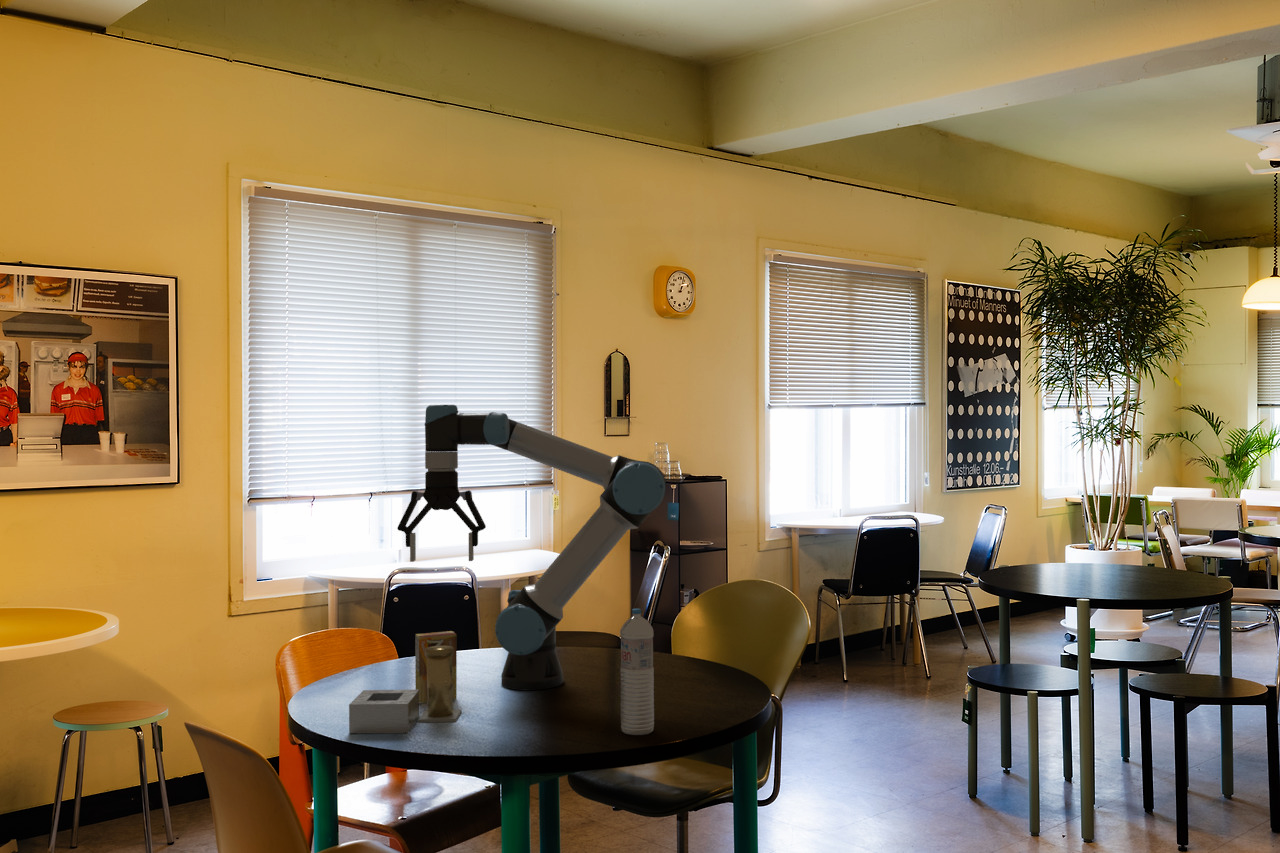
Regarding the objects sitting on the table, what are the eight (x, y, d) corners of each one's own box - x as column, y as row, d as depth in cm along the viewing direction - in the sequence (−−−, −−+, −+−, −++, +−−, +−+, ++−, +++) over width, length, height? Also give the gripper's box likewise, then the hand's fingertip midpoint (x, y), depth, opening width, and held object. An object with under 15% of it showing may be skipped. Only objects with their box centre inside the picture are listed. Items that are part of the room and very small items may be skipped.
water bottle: (619, 727, 213) (619, 606, 213) (652, 726, 213) (651, 606, 214) (622, 736, 206) (621, 612, 206) (655, 735, 207) (654, 611, 207)
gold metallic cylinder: (456, 710, 225) (455, 645, 225) (451, 717, 219) (450, 650, 219) (429, 710, 225) (428, 645, 225) (423, 718, 219) (422, 651, 219)
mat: (461, 711, 226) (461, 709, 226) (455, 721, 218) (455, 719, 218) (425, 712, 226) (425, 709, 226) (418, 722, 218) (418, 719, 218)
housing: (419, 717, 222) (419, 689, 222) (408, 733, 210) (408, 703, 210) (363, 718, 221) (363, 690, 221) (349, 733, 209) (349, 704, 209)
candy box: (452, 695, 240) (452, 630, 241) (457, 699, 237) (457, 633, 237) (414, 700, 237) (414, 633, 237) (419, 704, 233) (419, 636, 233)
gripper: (496, 469, 244) (497, 558, 244) (391, 470, 244) (392, 559, 244) (492, 470, 237) (493, 562, 237) (384, 471, 236) (384, 563, 236)
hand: (442, 560), depth 240 cm, fingers open, 13 cm apart
